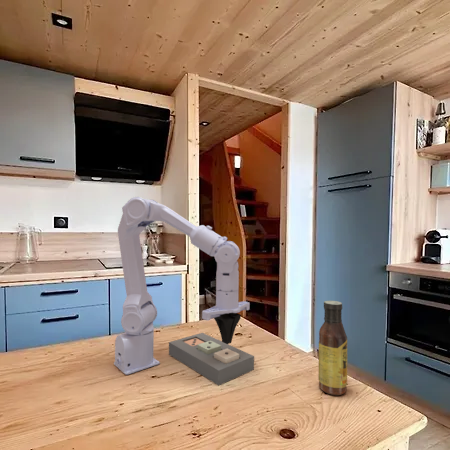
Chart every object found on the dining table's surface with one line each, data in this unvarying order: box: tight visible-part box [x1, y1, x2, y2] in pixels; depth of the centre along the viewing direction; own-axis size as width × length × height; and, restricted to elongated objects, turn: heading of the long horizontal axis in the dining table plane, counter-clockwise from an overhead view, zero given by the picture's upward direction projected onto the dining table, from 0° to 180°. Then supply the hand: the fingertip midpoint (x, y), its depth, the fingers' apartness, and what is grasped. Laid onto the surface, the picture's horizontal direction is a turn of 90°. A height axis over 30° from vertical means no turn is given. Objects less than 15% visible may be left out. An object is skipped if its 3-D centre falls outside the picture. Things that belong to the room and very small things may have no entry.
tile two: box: [198, 341, 221, 354], centre depth 83 cm, size 5×5×2 cm
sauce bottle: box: [317, 300, 348, 396], centre depth 70 cm, size 7×6×20 cm
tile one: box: [214, 348, 239, 364], centre depth 78 cm, size 5×5×2 cm
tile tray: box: [168, 332, 255, 386], centre depth 83 cm, size 12×22×4 cm, turn 42°
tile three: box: [184, 338, 204, 346], centre depth 89 cm, size 5×5×2 cm
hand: (226, 342), depth 78 cm, fingers closed
